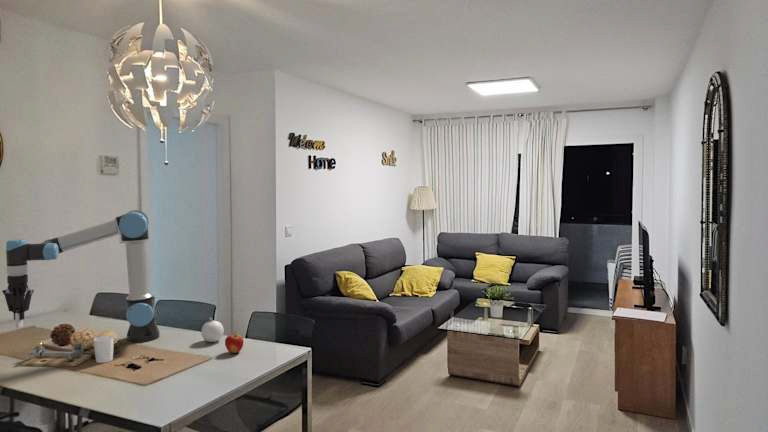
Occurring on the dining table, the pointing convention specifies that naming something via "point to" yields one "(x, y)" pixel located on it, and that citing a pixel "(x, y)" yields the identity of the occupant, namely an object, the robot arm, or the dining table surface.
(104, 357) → the white cup
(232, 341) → the apple
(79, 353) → the dividers beam
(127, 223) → the robot arm
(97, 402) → the dining table surface
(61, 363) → the jig board
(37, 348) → the sliding leg
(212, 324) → the ornament
